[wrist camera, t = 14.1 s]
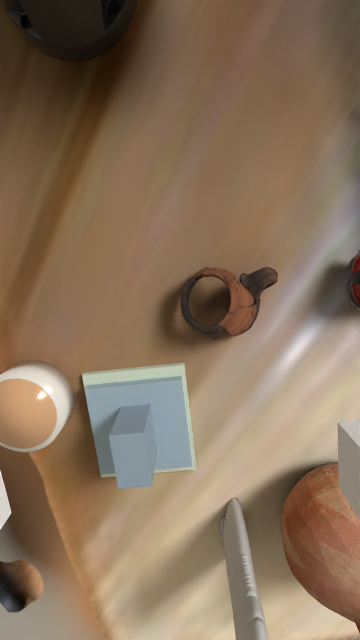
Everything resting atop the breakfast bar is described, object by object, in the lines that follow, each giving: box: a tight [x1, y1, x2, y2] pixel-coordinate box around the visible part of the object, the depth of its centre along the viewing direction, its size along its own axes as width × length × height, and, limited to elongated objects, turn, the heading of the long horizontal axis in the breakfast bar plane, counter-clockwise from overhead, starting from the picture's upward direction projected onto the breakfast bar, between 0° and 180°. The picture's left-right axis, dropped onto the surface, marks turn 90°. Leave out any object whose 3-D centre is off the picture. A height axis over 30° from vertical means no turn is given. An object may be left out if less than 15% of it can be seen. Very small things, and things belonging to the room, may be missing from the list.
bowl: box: [0, 361, 75, 452], centre depth 44 cm, size 11×11×5 cm
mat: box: [82, 363, 196, 477], centre depth 46 cm, size 16×14×1 cm
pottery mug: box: [181, 267, 278, 339], centre depth 40 cm, size 12×10×8 cm
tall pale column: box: [219, 498, 268, 640], centre depth 40 cm, size 11×4×22 cm, turn 178°
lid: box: [85, 376, 192, 489], centre depth 42 cm, size 13×13×8 cm
